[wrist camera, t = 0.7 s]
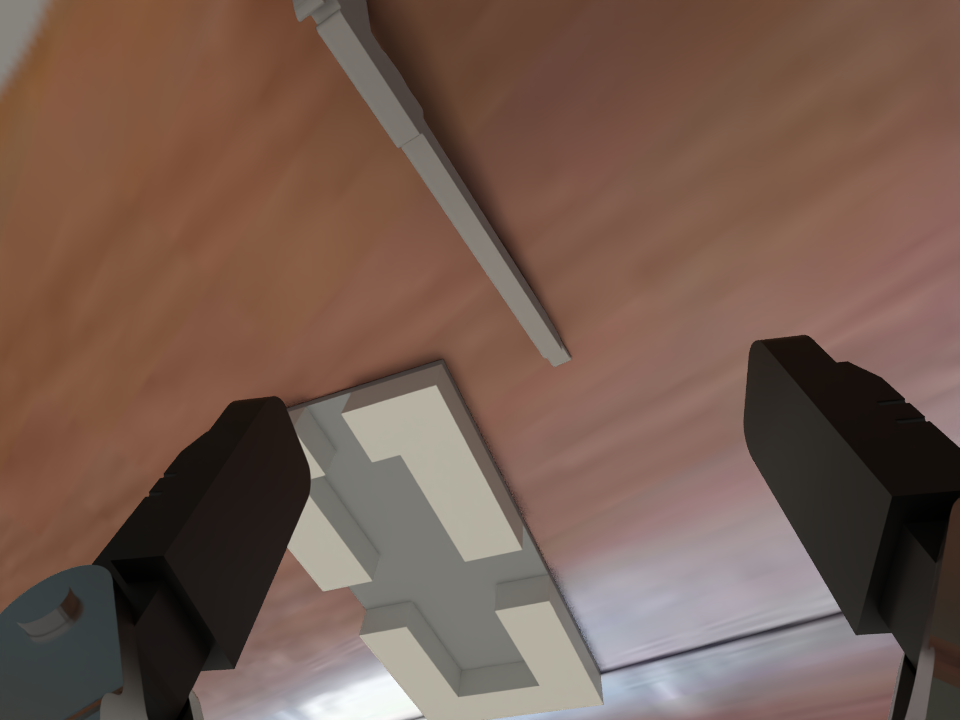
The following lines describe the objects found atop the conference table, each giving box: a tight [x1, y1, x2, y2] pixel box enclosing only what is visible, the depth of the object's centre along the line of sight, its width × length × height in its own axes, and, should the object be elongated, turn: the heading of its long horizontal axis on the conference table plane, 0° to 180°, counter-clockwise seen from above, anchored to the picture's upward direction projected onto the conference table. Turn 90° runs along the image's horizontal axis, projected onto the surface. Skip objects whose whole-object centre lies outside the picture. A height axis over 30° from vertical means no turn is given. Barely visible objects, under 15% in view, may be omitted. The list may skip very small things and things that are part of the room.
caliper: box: [293, 0, 572, 367], centre depth 23 cm, size 21×1×6 cm, turn 30°
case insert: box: [287, 359, 604, 720], centre depth 38 cm, size 14×30×2 cm, turn 22°
